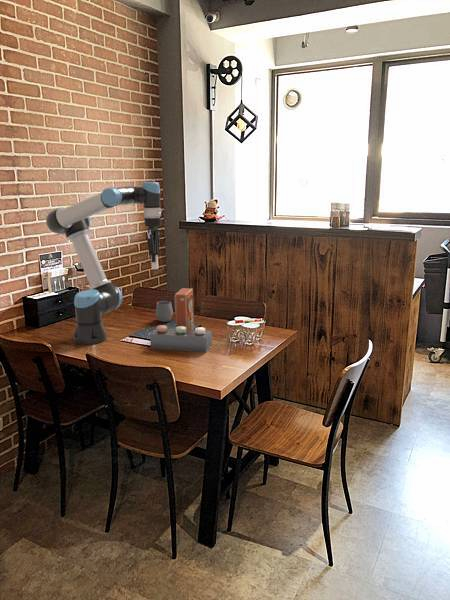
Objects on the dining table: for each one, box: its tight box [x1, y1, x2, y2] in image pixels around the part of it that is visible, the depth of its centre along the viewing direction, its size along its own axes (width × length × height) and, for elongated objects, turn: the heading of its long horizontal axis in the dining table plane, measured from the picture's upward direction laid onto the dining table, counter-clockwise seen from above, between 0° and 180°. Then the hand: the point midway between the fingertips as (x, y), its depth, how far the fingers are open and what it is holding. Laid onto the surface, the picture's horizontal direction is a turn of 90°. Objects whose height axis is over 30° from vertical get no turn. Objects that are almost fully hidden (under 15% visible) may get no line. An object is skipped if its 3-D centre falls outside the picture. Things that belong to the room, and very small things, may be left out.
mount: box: [149, 327, 213, 353], centre depth 228 cm, size 26×10×7 cm, turn 78°
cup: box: [155, 300, 174, 323], centre depth 269 cm, size 10×9×10 cm
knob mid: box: [175, 326, 186, 334], centre depth 228 cm, size 5×5×8 cm
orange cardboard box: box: [174, 287, 195, 330], centre depth 246 cm, size 21×7×15 cm
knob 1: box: [156, 324, 168, 333], centre depth 229 cm, size 5×5×8 cm
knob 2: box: [194, 326, 206, 335], centre depth 226 cm, size 5×5×8 cm
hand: (154, 268), depth 231 cm, fingers closed
